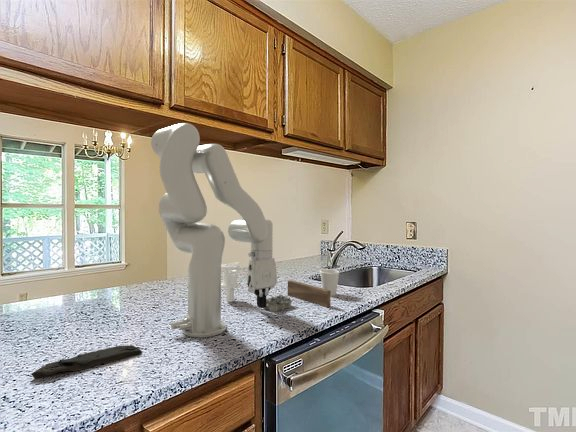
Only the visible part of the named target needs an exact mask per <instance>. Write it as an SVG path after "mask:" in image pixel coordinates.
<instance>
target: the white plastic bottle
mask: <svg viewBox="0 0 576 432" xmlns="http://www.w3.org/2000/svg"><path fill="white" fill-rule="evenodd" d="M221 270H223V272H222V282H221V289H225V291H226V292H225V295H226V296H225V301H226V302H228V303H232V302H234V301H235V289H239V287H240V283H239V282H238V273H240V262H231V263H226V264H221Z"/></svg>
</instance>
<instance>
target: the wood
mask: <svg viewBox="0 0 576 432" xmlns="http://www.w3.org/2000/svg"><path fill="white" fill-rule="evenodd" d="M142 354H143V351H142V349H140V346H135V345H133V344H131V345H129V344H128V345H117V346H113V347H107V348H106V347H105V348H104V349H100V350H99V349H98V350H95V351H90V352H86V353H83V354H78V355H76V356H73V357H71V358H63V359H59V360H57V361H54V362H49V363H46V364H45V365H43V366H40V368H38V369H36V370H35V371H33V372H32V373H31V374H30V375H31V376H32V377H33V378H34V379H40V378H42V377H48V376H52V375H54V374H55V375H56V374H57V373H62V372H74V371H75V372H76V371H83V370H86V369H90V368H91V367H95V366H98V365H102V364H107V363H111V362H117V361H119V360H123V359H127V358H130V357H136V356H138V355H142Z"/></svg>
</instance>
